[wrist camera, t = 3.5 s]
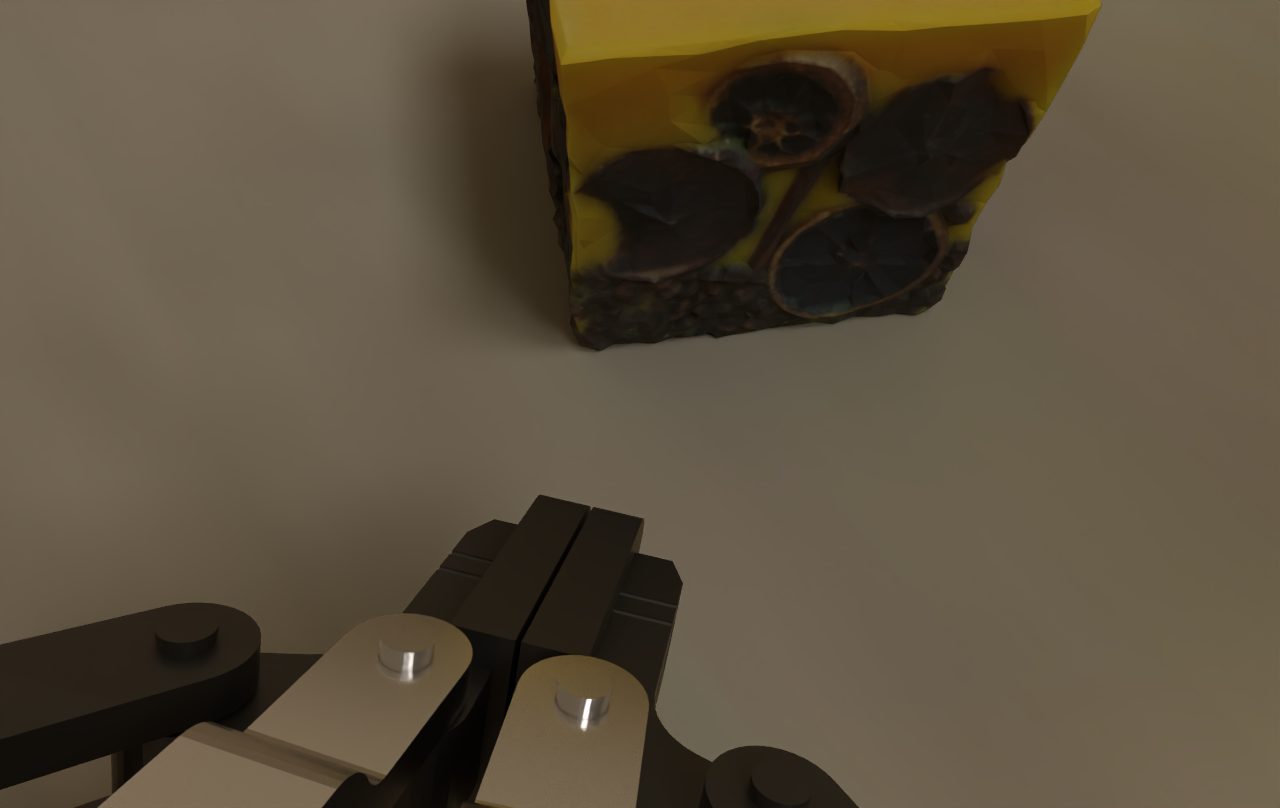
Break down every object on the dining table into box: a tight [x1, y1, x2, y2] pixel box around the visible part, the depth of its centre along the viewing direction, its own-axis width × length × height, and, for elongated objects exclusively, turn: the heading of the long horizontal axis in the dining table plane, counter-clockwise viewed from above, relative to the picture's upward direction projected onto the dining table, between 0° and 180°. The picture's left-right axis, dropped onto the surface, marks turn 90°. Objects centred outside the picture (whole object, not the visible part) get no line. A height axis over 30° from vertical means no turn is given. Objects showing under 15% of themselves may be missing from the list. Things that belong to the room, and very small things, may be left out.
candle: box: [526, 0, 1102, 350], centre depth 22 cm, size 10×10×10 cm
